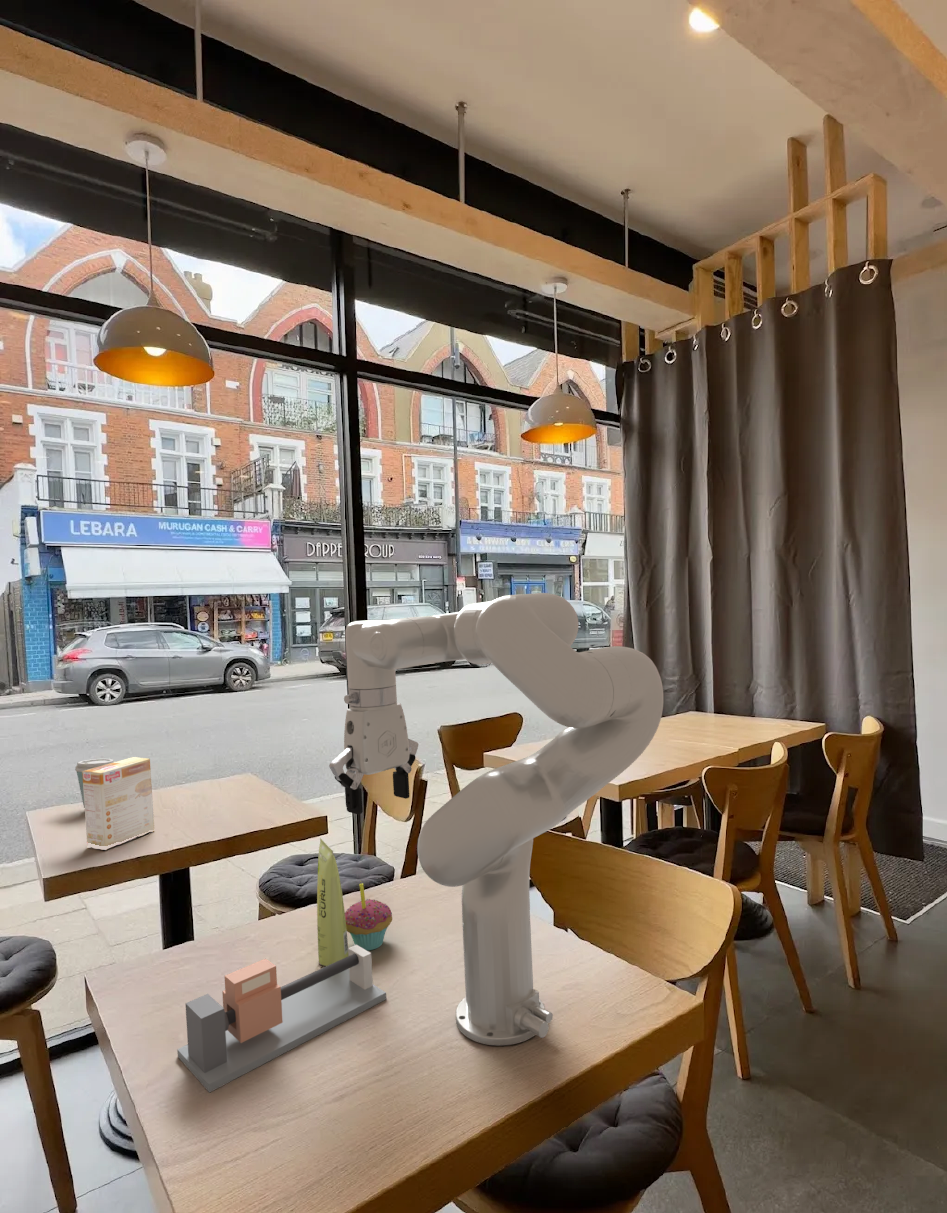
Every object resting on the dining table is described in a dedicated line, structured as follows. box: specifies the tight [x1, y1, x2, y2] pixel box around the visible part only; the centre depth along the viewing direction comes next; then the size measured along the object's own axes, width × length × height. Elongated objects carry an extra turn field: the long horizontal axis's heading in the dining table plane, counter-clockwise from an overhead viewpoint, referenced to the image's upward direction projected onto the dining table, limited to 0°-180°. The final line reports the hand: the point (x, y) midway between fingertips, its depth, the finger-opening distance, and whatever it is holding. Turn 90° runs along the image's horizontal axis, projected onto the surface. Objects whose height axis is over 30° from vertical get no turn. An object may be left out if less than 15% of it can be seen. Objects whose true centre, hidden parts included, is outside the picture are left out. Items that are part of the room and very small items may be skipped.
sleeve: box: [222, 958, 283, 1043], centre depth 98 cm, size 6×5×8 cm
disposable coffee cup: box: [74, 758, 116, 809], centre depth 211 cm, size 11×11×15 cm
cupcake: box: [345, 879, 393, 952], centre depth 125 cm, size 9×8×12 cm
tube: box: [316, 837, 349, 967], centre depth 120 cm, size 6×5×20 cm
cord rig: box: [176, 944, 387, 1093], centre depth 102 cm, size 27×10×8 cm, turn 133°
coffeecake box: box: [82, 756, 155, 846], centre depth 185 cm, size 15×7×20 cm, turn 154°
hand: (378, 804), depth 115 cm, fingers open, 9 cm apart
